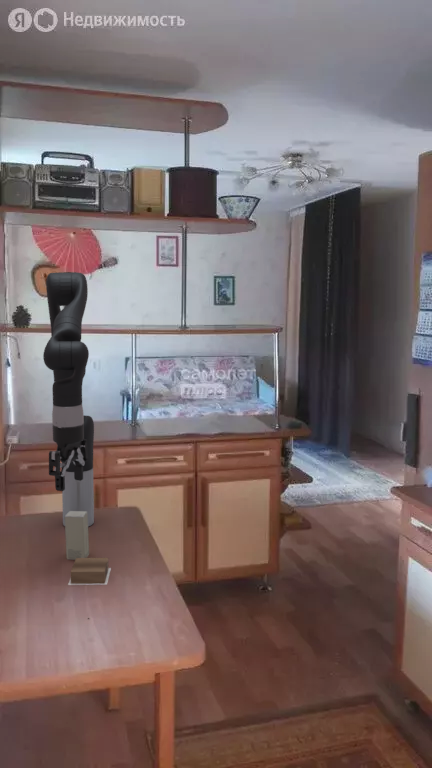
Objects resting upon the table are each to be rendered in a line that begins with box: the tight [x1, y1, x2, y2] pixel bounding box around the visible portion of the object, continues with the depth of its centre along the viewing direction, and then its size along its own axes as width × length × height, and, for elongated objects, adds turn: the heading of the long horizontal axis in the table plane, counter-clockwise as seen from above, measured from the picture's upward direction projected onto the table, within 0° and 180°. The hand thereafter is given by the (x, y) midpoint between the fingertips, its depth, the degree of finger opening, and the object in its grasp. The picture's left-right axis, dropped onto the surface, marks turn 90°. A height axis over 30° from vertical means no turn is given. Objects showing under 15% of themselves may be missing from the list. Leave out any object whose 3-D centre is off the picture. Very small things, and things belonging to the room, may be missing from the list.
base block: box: [70, 557, 109, 584], centre depth 162 cm, size 8×8×3 cm
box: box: [64, 511, 90, 561], centre depth 173 cm, size 5×4×13 cm
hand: (69, 485), depth 166 cm, fingers open, 8 cm apart
